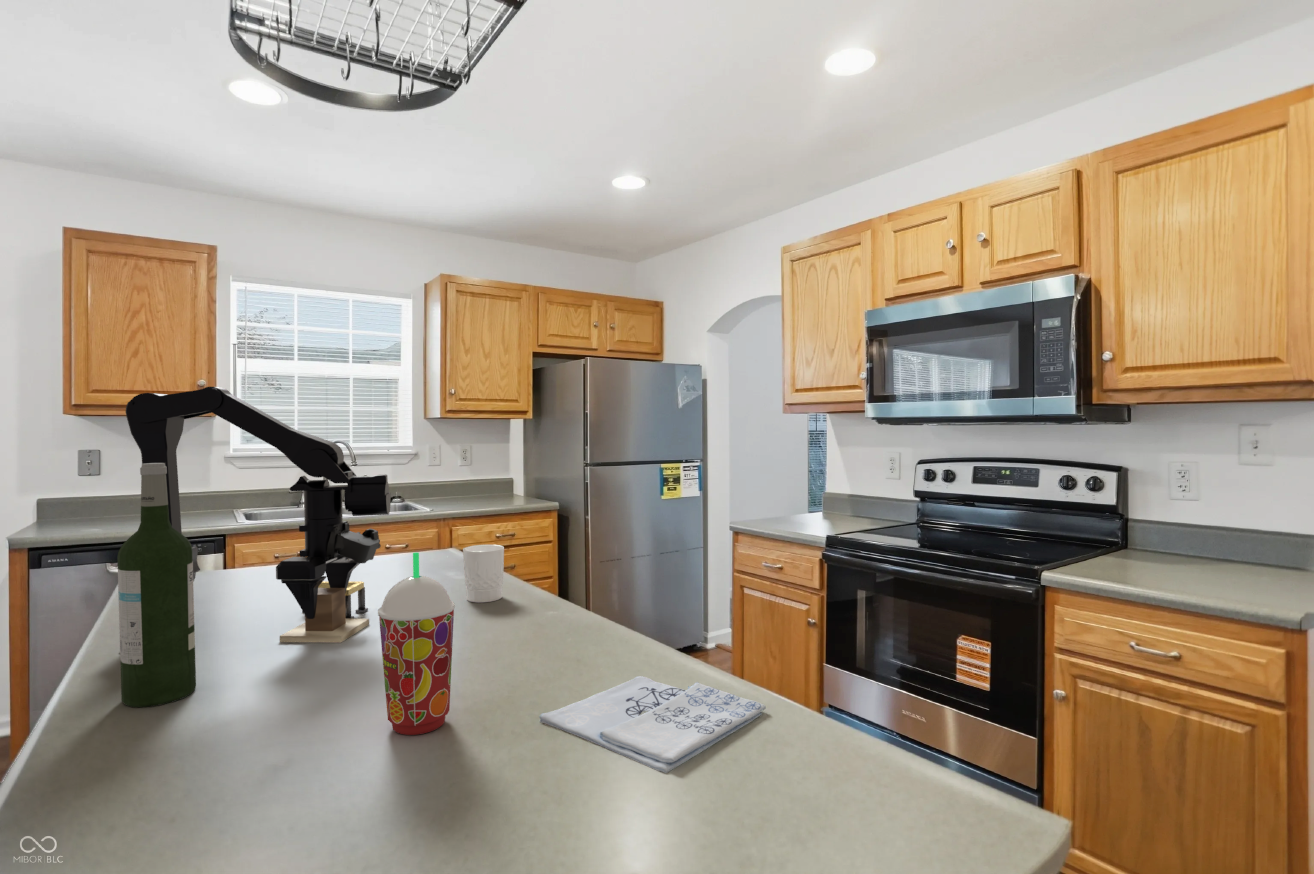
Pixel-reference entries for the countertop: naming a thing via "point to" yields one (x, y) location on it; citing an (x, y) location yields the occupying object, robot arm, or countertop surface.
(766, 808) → the countertop surface
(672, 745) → the folded bicycle towel
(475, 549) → the white cup
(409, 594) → the smoothie
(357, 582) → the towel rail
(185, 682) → the wine bottle
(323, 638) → the birch pad
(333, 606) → the walnut block
